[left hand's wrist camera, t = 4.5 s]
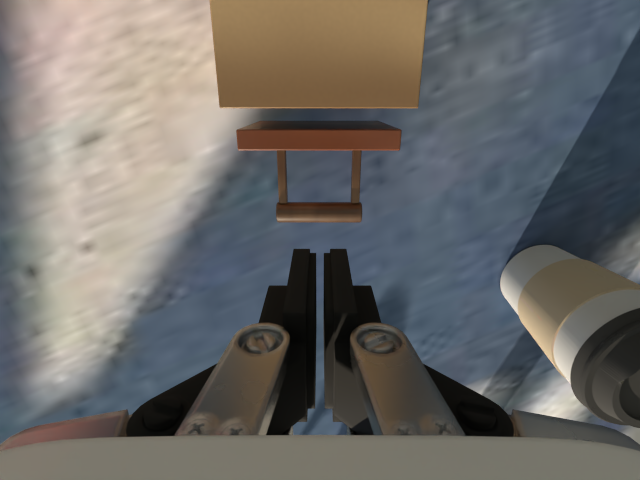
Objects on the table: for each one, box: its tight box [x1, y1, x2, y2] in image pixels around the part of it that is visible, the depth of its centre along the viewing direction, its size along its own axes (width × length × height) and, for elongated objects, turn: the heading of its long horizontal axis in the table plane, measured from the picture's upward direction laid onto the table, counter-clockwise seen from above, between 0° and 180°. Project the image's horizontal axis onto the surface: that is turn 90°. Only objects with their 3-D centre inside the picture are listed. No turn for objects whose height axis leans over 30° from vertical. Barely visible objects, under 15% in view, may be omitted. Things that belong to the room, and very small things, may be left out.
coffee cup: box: [500, 245, 640, 428], centre depth 28 cm, size 9×9×15 cm
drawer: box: [236, 121, 401, 222], centre depth 24 cm, size 24×10×9 cm, turn 0°
